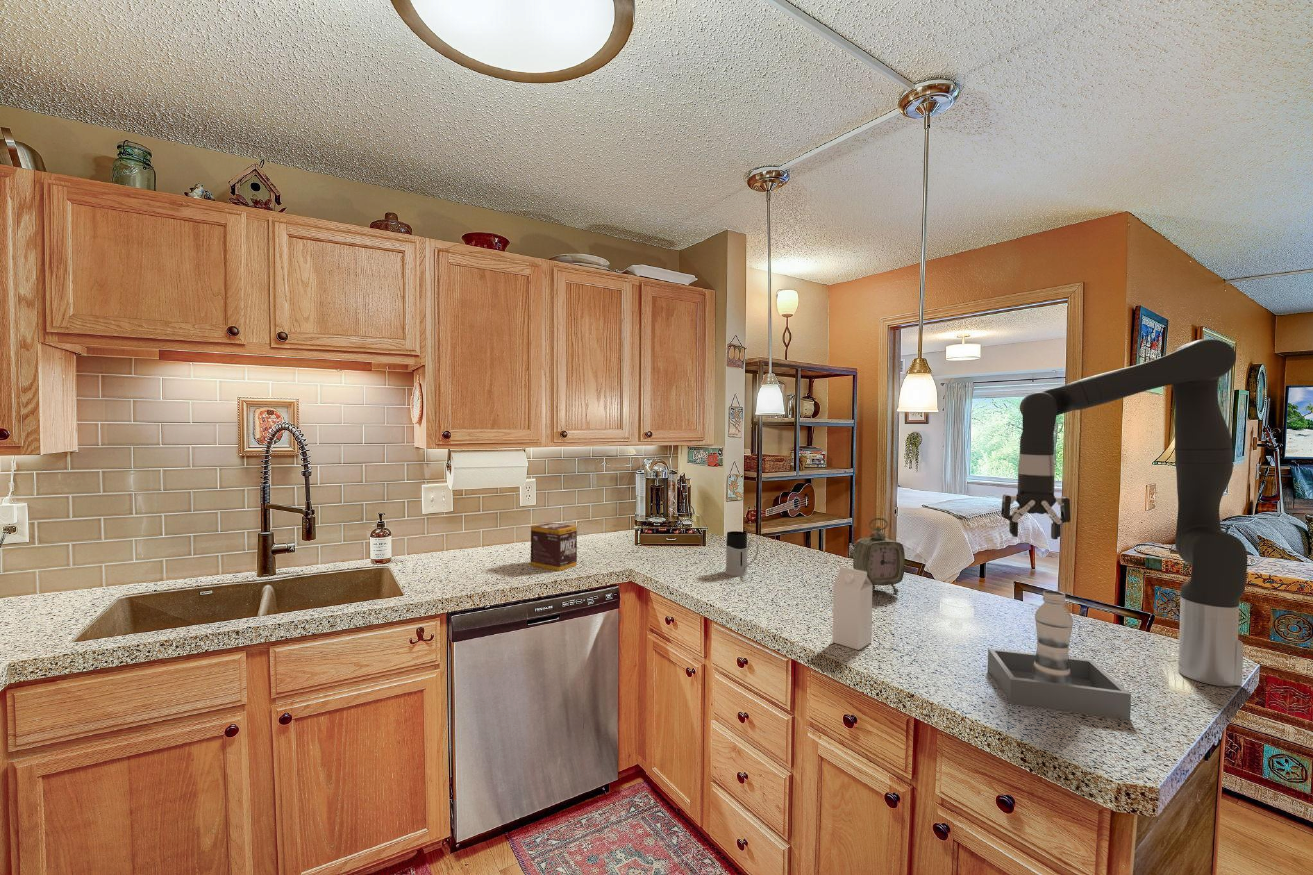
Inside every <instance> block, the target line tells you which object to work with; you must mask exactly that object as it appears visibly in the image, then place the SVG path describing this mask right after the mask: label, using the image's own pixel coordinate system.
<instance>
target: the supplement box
mask: <svg viewBox="0 0 1313 875" xmlns="http://www.w3.org/2000/svg"><path fill="white" fill-rule="evenodd" d="M577 553H578V526H577V525H570V524H563V523H556V522H545V523H541V524H536V525H535V524H534V525H530V562H529V563H530V566H533V567H537V568H542V569H548V570H552V571H557V572H561V571H565V570H568V569H569V568H573V567H576V566H578V565H577V564H578V562H577V560H578V558H577V557H578V554H577Z"/></svg>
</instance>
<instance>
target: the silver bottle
mask: <svg viewBox="0 0 1313 875" xmlns="http://www.w3.org/2000/svg"><path fill="white" fill-rule="evenodd" d="M1042 593H1043V594H1042V601H1043V603H1042V604H1041V605H1040V606H1039V607H1038V608H1037V609H1036V611H1035V613H1034V620H1035V630H1036V652H1035V654H1036V657H1035V661H1034V664H1033V669H1032V673H1033V678H1034V680H1038V681H1046V682H1054V683H1062V684H1071V672H1070V669H1069V658H1070V655H1069V652H1070V651H1069V650H1070V644H1071V642H1070V641H1071V636H1072V633H1073V632H1072V631H1073V627H1074V618H1073V616H1072V614H1071V613H1070V611H1069V610H1068V609H1067V608H1066V606H1065V605H1066V603H1067V602H1066V594H1065V593H1064V592H1061V591H1056V590H1048V589H1047V590H1043V591H1042Z"/></svg>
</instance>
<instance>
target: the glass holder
mask: <svg viewBox="0 0 1313 875" xmlns="http://www.w3.org/2000/svg"><path fill="white" fill-rule="evenodd" d="M751 542H755V544H756V551H755V556H754V558H753V559H752V561H750V563H748V551H749V550H750V546H751ZM725 546H726V549H725V550H726V552H725V553H726V554H725V556H726V557H725V560H726V561H725V571H724V574H726V575H728V576H731V577H733V576H734V577H744V576H747V575H749V570H748V567H750V565H752V563H754V562H755V561H756V560H757V557H758V554H759V550H760V548H759V543H758V541H757V540H755V539H750V540H749V541H748V533H747V532H745V531H741V530H739V531H738V530H737V531H736V530H734V531H732V530H731V531H728V532H727V533H726V545H725Z"/></svg>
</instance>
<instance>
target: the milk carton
mask: <svg viewBox="0 0 1313 875" xmlns="http://www.w3.org/2000/svg"><path fill="white" fill-rule="evenodd" d="M832 586H833V588H832V589H833V593H832V594H833V595H832V643H834V644H837V645H841V646H844V647H847V648H850V649H854V650H857V651H860V650H861V649H863V648H864V647H866V646H868V645H870V644H871V643H872V626H873V625H872V623H873V622H872V620H873V590H872V583H871V582H870V580H869V579H868V577H867V572H865V571H860V570H855V569H854V568H849V567H844V566H839V571H838V574H837V576H836V578H835V580H834V582H833V585H832Z"/></svg>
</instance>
